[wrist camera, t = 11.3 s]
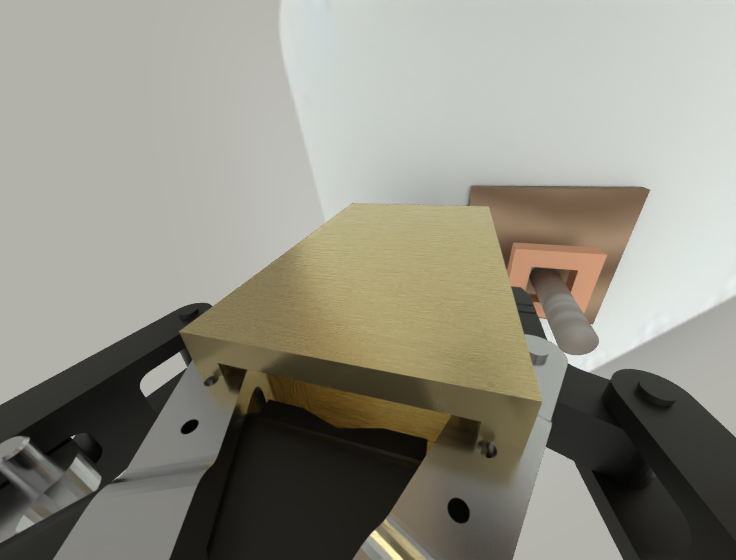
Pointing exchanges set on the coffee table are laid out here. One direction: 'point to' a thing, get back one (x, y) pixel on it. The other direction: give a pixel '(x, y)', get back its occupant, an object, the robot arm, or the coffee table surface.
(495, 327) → the sleeve
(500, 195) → the post stand
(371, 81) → the coffee table surface
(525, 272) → the orange square ring
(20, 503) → the robot arm
